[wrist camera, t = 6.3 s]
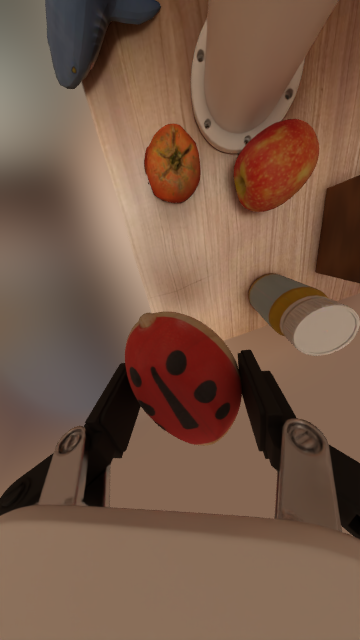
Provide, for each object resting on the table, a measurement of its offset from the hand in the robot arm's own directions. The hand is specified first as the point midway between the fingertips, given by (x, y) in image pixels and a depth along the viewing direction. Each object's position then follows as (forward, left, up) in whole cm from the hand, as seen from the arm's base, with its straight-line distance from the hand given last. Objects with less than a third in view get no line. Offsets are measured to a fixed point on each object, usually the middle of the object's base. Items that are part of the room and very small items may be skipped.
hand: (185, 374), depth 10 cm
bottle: (+4, +14, -23) cm, 27 cm away
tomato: (-17, +1, -23) cm, 29 cm away
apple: (-13, +13, -23) cm, 29 cm away
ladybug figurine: (0, 0, -1) cm, 1 cm away
